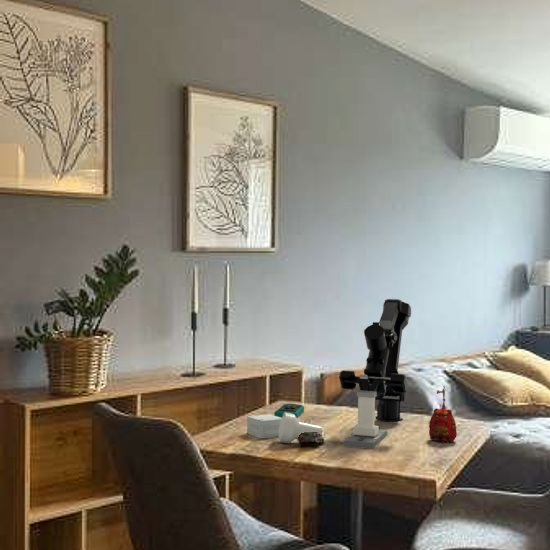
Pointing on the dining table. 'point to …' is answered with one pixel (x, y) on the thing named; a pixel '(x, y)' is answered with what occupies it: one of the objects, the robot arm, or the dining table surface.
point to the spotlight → (294, 428)
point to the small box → (263, 425)
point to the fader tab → (366, 414)
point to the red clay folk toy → (442, 424)
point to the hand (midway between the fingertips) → (367, 405)
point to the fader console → (365, 440)
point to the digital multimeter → (290, 410)
